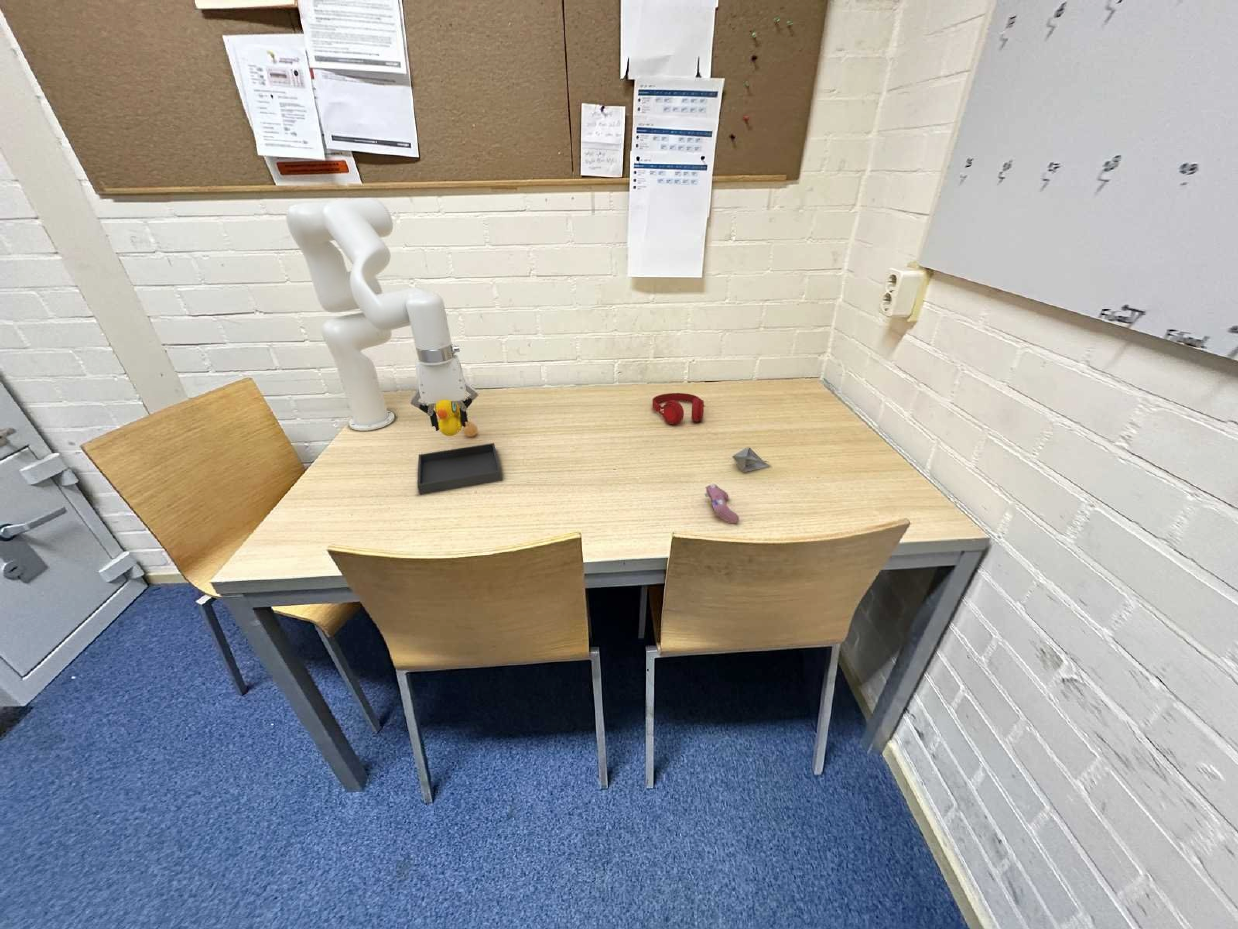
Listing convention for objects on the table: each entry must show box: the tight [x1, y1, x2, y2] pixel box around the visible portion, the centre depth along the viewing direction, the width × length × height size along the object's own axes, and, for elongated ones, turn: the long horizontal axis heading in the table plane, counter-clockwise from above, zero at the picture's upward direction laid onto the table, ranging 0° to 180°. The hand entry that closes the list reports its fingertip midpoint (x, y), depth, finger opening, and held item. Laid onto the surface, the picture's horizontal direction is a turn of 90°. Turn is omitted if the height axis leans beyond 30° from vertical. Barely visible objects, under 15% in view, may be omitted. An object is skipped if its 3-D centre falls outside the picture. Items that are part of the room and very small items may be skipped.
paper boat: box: [731, 446, 769, 473], centre depth 122 cm, size 12×6×9 cm
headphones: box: [651, 392, 706, 425], centre depth 152 cm, size 15×7×20 cm
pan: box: [416, 442, 503, 496], centre depth 124 cm, size 15×19×3 cm
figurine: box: [455, 401, 478, 438], centre depth 138 cm, size 8×6×12 cm
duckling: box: [434, 400, 463, 437], centre depth 116 cm, size 11×5×10 cm, turn 4°
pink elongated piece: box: [704, 483, 740, 524], centre depth 108 cm, size 10×5×7 cm, turn 5°
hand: (450, 425), depth 118 cm, fingers closed on duckling, 5 cm apart
